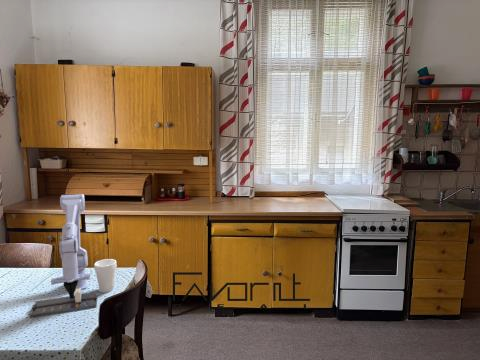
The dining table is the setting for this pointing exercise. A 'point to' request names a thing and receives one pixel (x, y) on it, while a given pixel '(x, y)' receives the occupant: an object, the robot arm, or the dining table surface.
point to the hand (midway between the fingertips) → (72, 297)
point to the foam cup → (106, 274)
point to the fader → (78, 295)
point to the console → (63, 305)
